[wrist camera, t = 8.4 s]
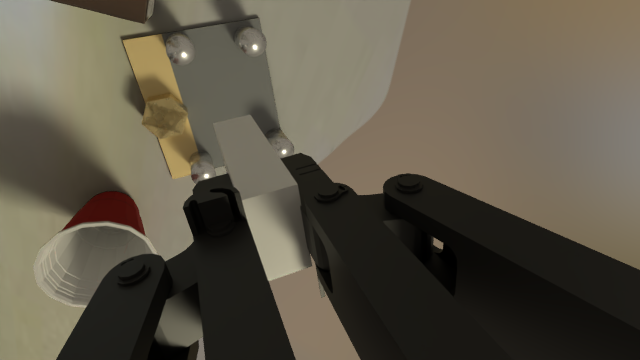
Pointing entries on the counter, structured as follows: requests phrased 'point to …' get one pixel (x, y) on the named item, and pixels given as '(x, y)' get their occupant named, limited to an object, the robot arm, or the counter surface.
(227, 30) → the mat
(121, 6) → the coffee box
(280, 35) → the counter surface
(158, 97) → the tan faceted flat piece
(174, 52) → the spacer
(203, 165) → the spacer
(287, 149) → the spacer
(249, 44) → the ball
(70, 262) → the plastic cup
